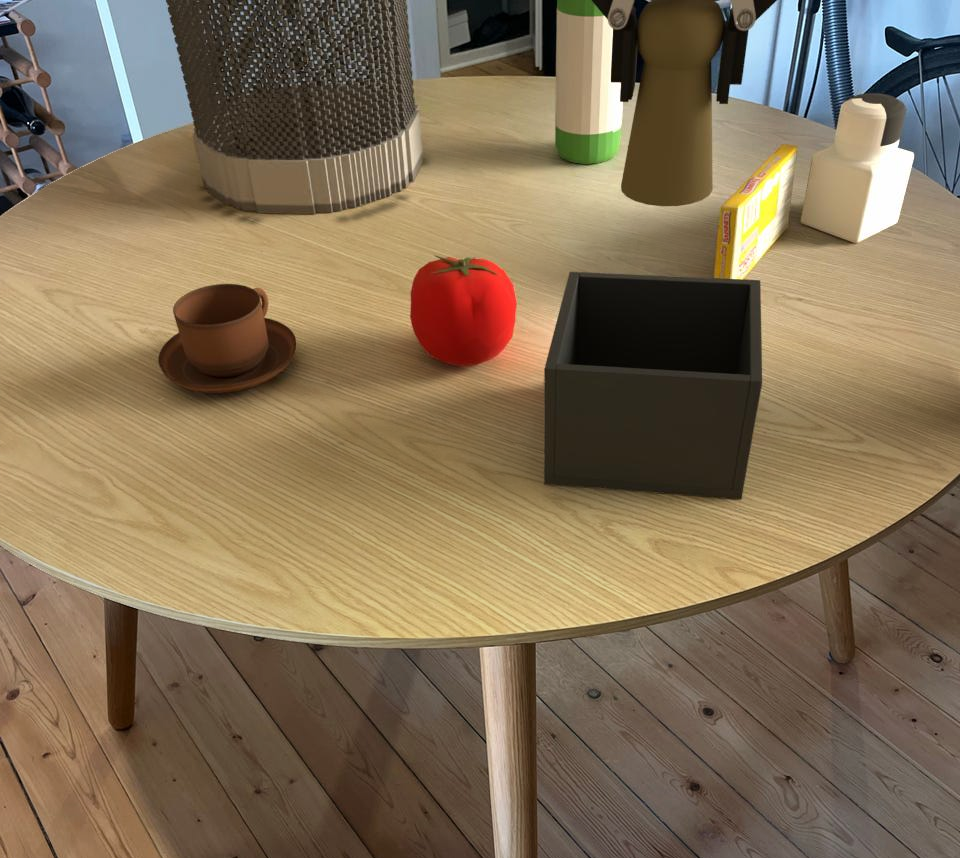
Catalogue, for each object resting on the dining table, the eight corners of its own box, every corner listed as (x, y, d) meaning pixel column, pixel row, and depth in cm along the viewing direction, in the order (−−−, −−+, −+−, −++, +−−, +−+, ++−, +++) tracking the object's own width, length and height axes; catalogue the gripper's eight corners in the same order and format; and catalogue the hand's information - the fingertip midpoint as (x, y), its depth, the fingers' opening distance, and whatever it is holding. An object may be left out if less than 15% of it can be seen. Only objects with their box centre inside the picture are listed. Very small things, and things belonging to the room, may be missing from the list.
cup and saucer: (192, 332, 96) (175, 268, 91) (315, 337, 94) (304, 273, 89) (142, 402, 87) (121, 336, 83) (276, 409, 86) (262, 343, 81)
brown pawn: (726, 178, 68) (750, -11, 61) (691, 213, 65) (712, 16, 57) (643, 164, 71) (656, -20, 63) (605, 196, 67) (614, 5, 59)
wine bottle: (542, 151, 123) (544, -162, 102) (597, 137, 126) (609, -171, 105) (576, 172, 119) (585, -152, 97) (632, 157, 121) (653, -162, 100)
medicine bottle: (841, 203, 110) (866, 82, 101) (898, 223, 106) (930, 98, 97) (798, 223, 107) (821, 100, 98) (856, 245, 103) (885, 118, 94)
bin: (742, 392, 85) (760, 279, 78) (741, 499, 75) (762, 381, 68) (567, 381, 87) (569, 271, 80) (543, 484, 77) (544, 368, 70)
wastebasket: (436, 131, 129) (416, -167, 108) (397, 215, 112) (364, -121, 91) (244, 130, 133) (189, -161, 111) (177, 211, 115) (96, -115, 94)
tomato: (472, 394, 86) (467, 300, 80) (386, 356, 91) (375, 265, 85) (541, 348, 91) (541, 257, 85) (455, 315, 96) (450, 227, 90)
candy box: (767, 225, 107) (781, 142, 101) (787, 229, 106) (802, 145, 100) (708, 291, 97) (719, 203, 91) (730, 295, 96) (742, 207, 90)
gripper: (528, -284, 50) (530, 114, 63) (895, -299, 47) (818, 120, 60) (549, -296, 55) (547, 74, 68) (881, -310, 52) (813, 78, 65)
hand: (674, 92), depth 64 cm, fingers closed on brown pawn, 5 cm apart
